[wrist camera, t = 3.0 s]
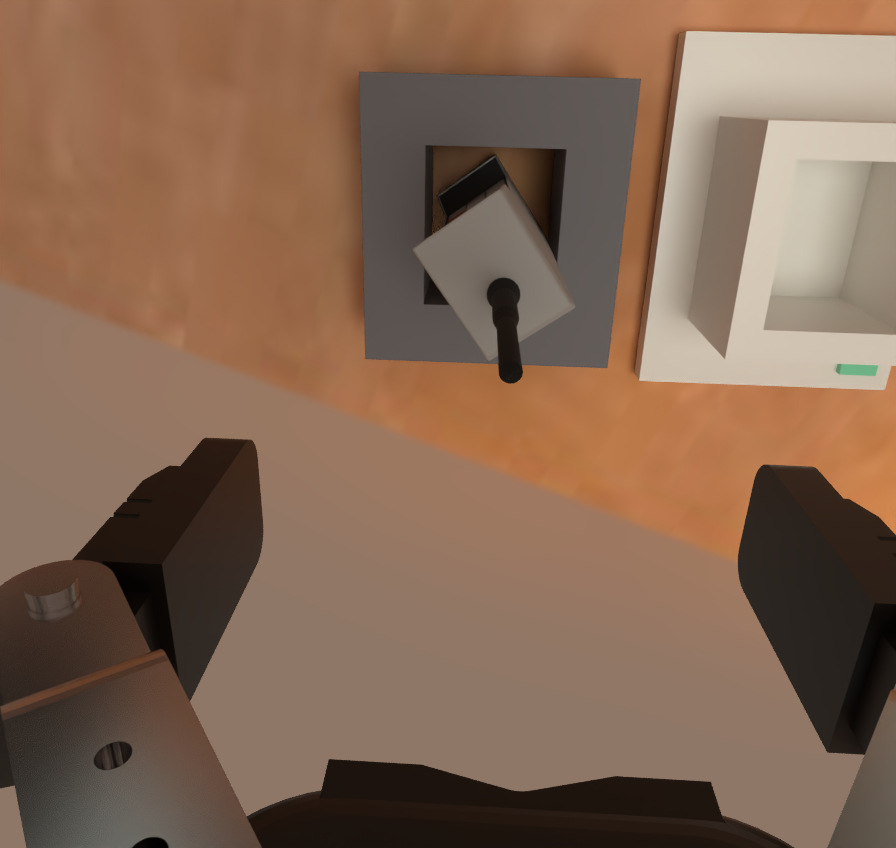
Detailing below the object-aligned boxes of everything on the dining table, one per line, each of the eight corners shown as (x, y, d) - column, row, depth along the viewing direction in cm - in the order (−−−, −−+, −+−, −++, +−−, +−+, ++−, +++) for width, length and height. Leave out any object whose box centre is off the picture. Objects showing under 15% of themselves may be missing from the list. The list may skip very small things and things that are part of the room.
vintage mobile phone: (495, 152, 40) (508, 227, 17) (543, 231, 42) (614, 396, 19) (437, 193, 41) (378, 314, 18) (487, 268, 43) (489, 468, 20)
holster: (376, 75, 39) (359, 71, 33) (618, 81, 38) (640, 78, 33) (380, 326, 44) (365, 358, 39) (592, 334, 44) (607, 367, 38)
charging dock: (679, 33, 37) (729, 16, 30) (963, 40, 37) (1091, 24, 29) (634, 372, 45) (665, 430, 37) (872, 380, 44) (954, 441, 36)
